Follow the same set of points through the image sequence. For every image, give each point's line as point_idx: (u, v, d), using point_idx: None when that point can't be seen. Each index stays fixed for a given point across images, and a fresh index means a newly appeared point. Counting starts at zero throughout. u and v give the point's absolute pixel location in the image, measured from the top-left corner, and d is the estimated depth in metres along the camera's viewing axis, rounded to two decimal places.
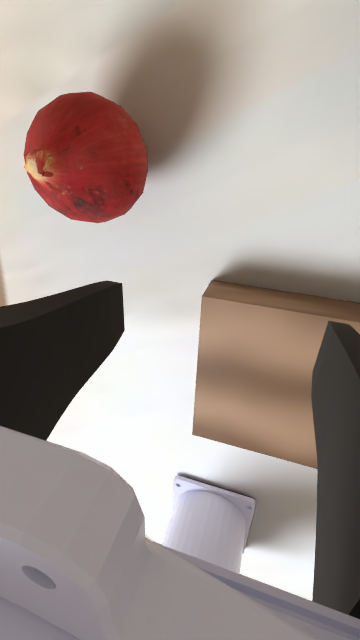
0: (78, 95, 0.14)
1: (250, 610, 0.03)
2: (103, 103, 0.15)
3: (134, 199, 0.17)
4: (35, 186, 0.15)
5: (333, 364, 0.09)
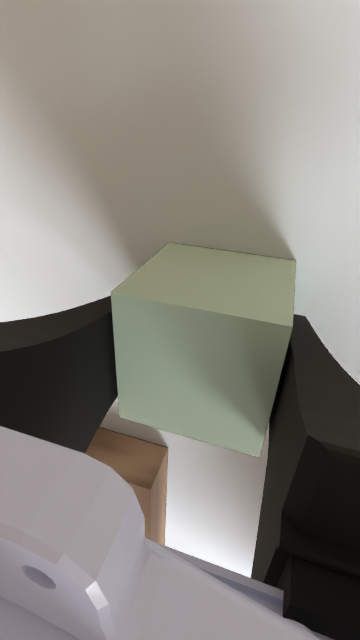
0: None
1: (250, 610, 0.03)
2: None
3: None
4: None
5: None
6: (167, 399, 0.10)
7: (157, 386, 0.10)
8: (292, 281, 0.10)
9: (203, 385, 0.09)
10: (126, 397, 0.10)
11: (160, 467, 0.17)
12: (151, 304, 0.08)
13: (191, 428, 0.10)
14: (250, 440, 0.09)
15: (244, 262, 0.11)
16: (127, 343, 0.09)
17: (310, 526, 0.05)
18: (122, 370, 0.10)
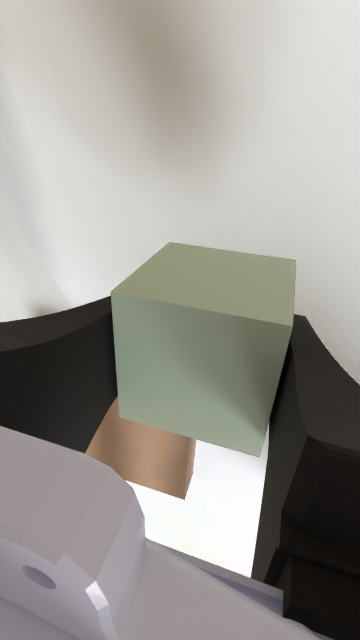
0: None
1: (250, 610, 0.03)
2: None
3: None
4: None
5: None
6: (167, 398, 0.10)
7: (157, 386, 0.10)
8: (292, 281, 0.10)
9: (203, 385, 0.09)
10: (126, 397, 0.10)
11: None
12: (151, 303, 0.08)
13: (191, 428, 0.10)
14: (250, 440, 0.09)
15: (244, 262, 0.11)
16: (127, 342, 0.09)
17: (310, 526, 0.05)
18: (122, 370, 0.10)
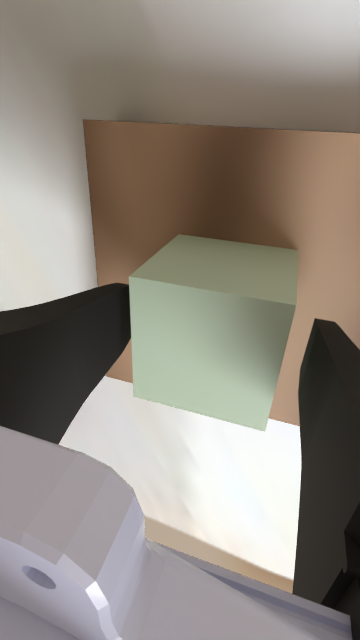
0: None
1: (250, 610, 0.03)
2: None
3: None
4: None
5: (317, 360, 0.09)
6: (179, 377, 0.10)
7: (170, 365, 0.10)
8: (295, 267, 0.10)
9: (213, 363, 0.10)
10: (140, 376, 0.11)
11: None
12: (166, 286, 0.09)
13: (201, 405, 0.11)
14: (256, 415, 0.10)
15: (250, 251, 0.12)
16: (143, 324, 0.10)
17: None
18: (137, 350, 0.10)
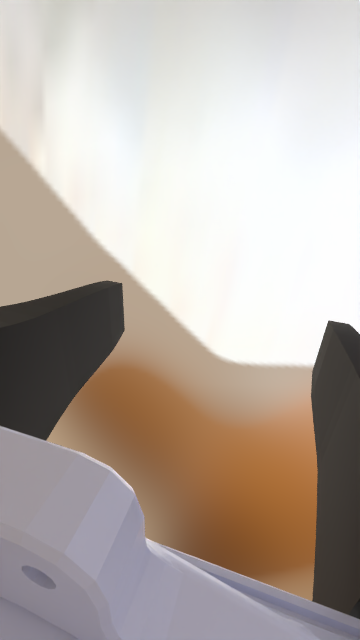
0: None
1: (250, 610, 0.03)
2: None
3: None
4: None
5: (333, 364, 0.09)
6: None
7: None
8: None
9: None
10: None
11: None
12: None
13: None
14: None
15: None
16: None
17: None
18: None
